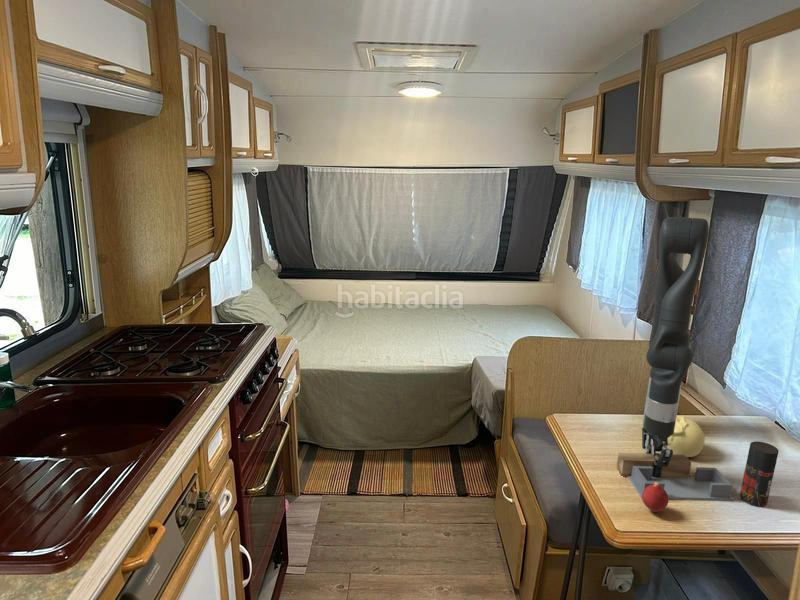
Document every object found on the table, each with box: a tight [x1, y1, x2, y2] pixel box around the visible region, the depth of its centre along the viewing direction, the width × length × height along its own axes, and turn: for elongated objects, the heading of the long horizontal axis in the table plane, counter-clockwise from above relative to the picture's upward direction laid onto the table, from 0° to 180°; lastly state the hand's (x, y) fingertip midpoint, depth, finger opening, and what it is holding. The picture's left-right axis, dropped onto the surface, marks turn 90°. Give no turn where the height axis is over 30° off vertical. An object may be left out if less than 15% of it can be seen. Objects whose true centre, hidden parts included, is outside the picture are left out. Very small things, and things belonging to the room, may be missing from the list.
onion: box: [641, 482, 669, 513], centre depth 133 cm, size 6×6×8 cm
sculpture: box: [667, 415, 706, 458], centre depth 160 cm, size 11×12×11 cm
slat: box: [616, 452, 692, 478], centre depth 150 cm, size 4×18×5 cm, turn 88°
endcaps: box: [627, 466, 734, 502], centre depth 143 cm, size 9×23×4 cm, turn 89°
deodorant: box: [739, 440, 779, 508], centre depth 137 cm, size 6×6×15 cm
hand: (652, 471), depth 150 cm, fingers closed on slat, 4 cm apart
